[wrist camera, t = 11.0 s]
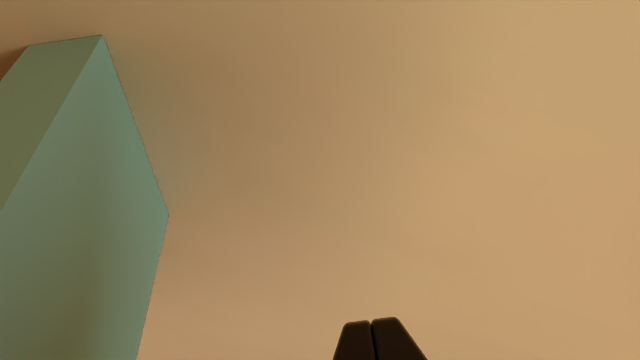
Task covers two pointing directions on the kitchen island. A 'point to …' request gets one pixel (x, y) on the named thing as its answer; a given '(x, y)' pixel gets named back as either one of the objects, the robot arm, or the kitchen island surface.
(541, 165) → the kitchen island surface
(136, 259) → the domino
